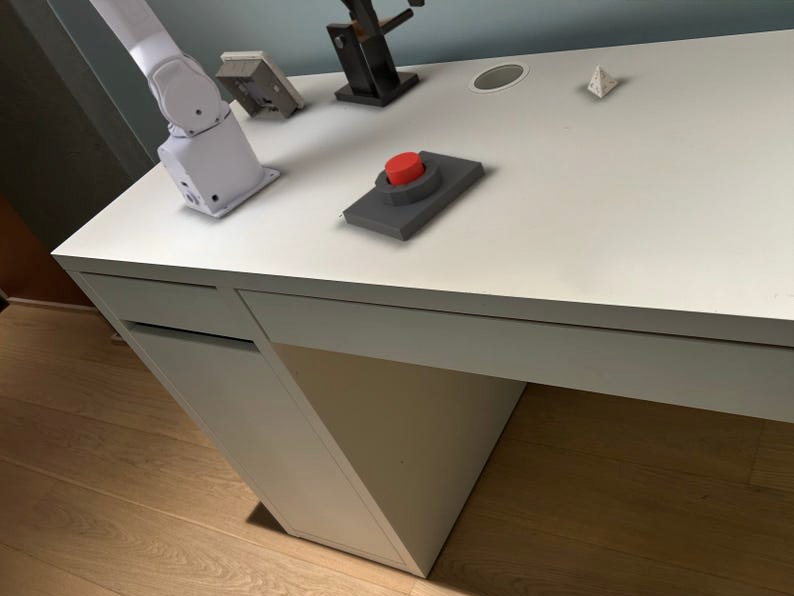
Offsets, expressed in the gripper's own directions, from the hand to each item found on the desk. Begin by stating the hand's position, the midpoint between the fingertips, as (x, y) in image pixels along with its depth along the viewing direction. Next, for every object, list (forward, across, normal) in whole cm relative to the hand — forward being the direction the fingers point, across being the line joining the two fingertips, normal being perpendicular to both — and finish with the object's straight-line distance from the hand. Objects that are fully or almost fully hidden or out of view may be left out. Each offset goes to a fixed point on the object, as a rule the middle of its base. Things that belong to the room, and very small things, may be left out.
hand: (396, 19), depth 86 cm
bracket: (+10, 0, +9) cm, 13 cm away
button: (+7, -18, -17) cm, 26 cm away
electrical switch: (+10, -9, +22) cm, 26 cm away
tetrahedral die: (+10, +6, -23) cm, 26 cm away
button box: (+10, -18, -17) cm, 27 cm away
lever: (+2, 0, +5) cm, 5 cm away
